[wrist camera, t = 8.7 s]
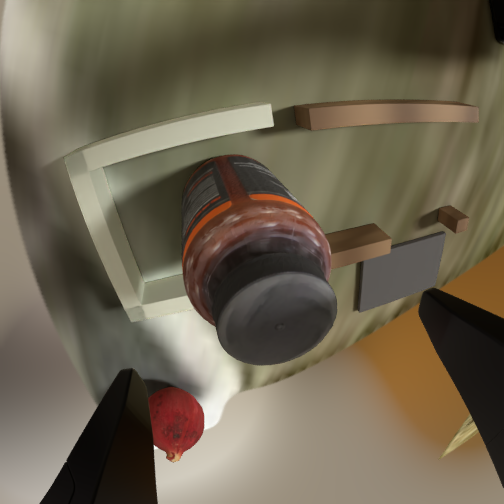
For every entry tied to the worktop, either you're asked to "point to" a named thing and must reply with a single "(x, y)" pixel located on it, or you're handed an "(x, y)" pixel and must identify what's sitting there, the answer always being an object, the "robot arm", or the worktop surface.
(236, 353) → the supplement bottle
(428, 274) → the mat
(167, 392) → the onion
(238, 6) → the worktop surface
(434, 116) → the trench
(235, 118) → the dock
